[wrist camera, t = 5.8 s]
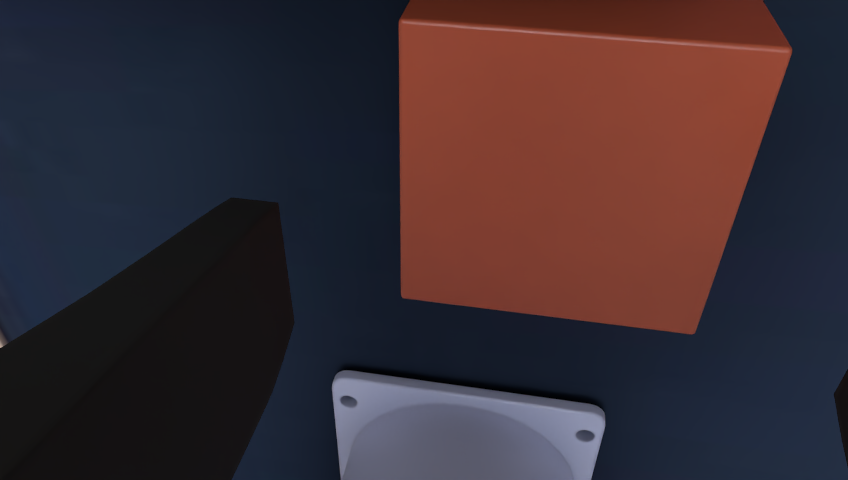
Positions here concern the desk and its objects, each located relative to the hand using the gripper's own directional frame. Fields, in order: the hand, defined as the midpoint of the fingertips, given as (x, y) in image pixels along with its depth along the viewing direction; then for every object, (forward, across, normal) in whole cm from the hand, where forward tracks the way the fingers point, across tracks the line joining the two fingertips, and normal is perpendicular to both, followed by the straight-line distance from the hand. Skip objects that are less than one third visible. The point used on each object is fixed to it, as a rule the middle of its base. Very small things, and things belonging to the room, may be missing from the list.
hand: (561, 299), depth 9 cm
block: (+7, 0, 0) cm, 7 cm away
